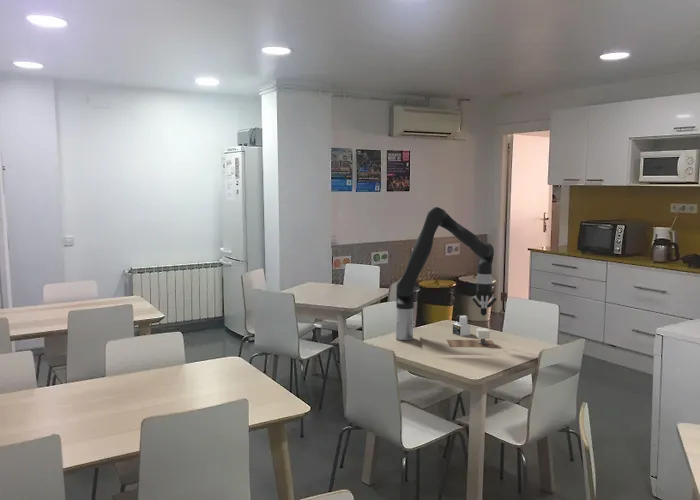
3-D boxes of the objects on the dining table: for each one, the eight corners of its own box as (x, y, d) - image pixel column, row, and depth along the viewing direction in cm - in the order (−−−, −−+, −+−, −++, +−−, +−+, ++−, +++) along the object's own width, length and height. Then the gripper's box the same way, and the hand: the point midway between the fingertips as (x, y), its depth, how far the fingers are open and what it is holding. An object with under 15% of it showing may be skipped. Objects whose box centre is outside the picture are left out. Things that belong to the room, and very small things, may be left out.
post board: (449, 349, 285) (450, 333, 284) (446, 342, 299) (446, 326, 298) (497, 350, 284) (497, 334, 283) (491, 343, 298) (492, 327, 297)
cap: (478, 338, 288) (478, 331, 288) (476, 335, 294) (476, 328, 293) (489, 338, 288) (489, 331, 287) (487, 335, 293) (487, 328, 293)
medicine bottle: (452, 335, 313) (452, 314, 312) (462, 334, 316) (463, 313, 315) (460, 338, 307) (460, 317, 305) (470, 337, 310) (471, 316, 308)
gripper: (472, 283, 284) (471, 316, 286) (498, 283, 284) (498, 317, 285) (470, 281, 292) (469, 313, 293) (495, 281, 291) (494, 313, 293)
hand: (483, 315), depth 289 cm, fingers closed
